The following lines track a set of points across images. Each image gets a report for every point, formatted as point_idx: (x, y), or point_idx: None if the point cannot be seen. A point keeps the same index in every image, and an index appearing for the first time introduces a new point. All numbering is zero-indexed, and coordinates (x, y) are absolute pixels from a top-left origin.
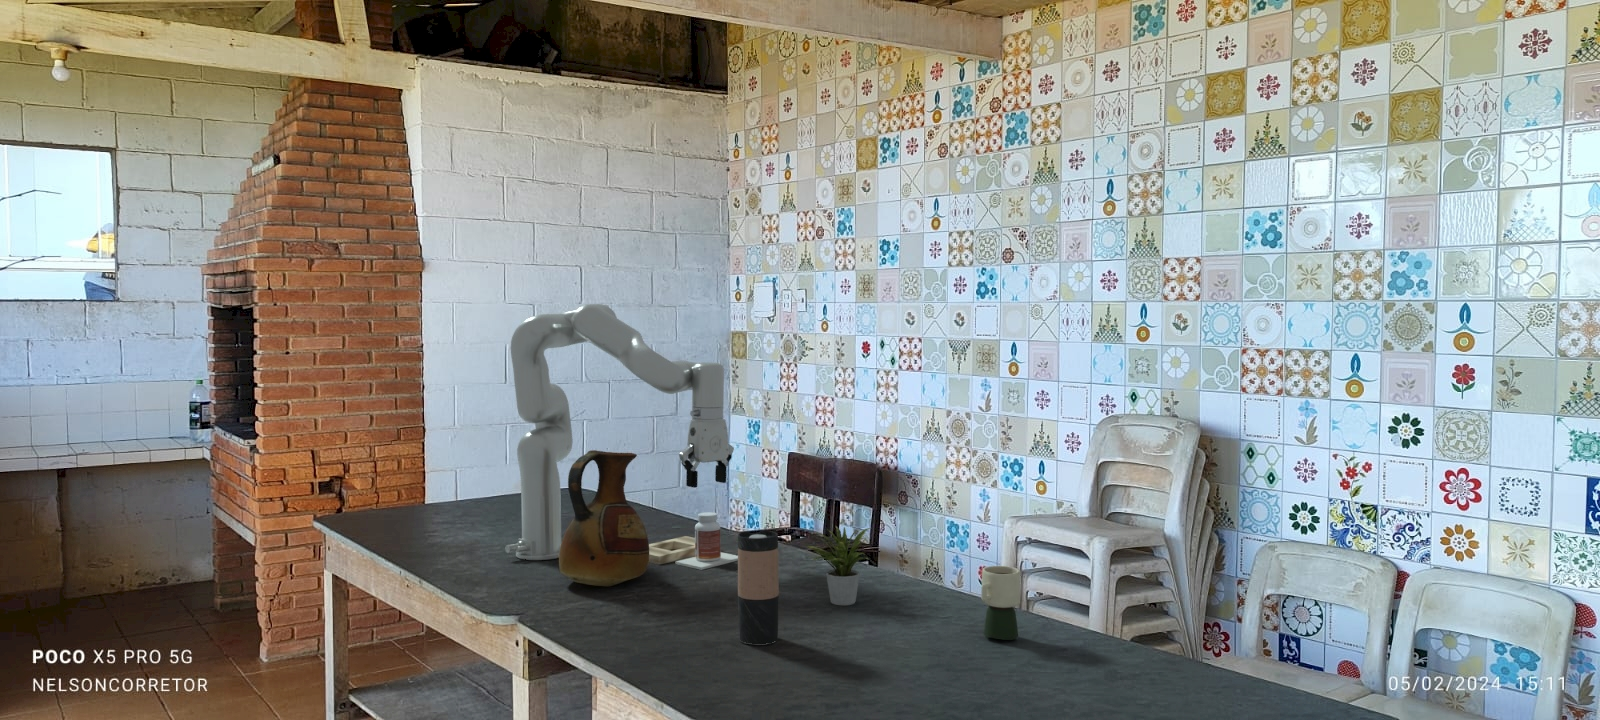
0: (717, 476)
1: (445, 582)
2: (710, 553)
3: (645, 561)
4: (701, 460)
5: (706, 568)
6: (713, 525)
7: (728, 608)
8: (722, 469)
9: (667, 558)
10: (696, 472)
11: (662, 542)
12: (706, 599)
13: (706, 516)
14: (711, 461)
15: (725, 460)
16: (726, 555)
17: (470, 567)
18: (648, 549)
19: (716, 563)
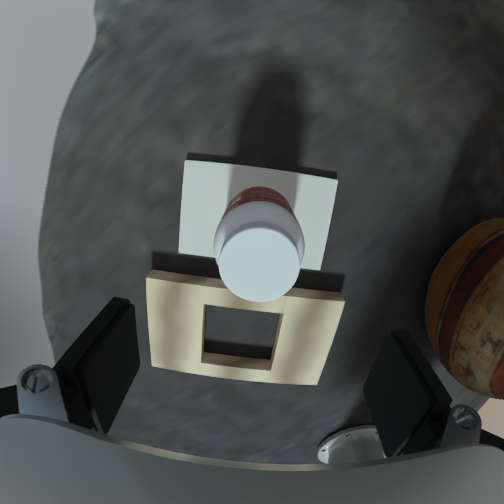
0: (126, 372)
1: (480, 404)
2: (283, 197)
3: (497, 222)
4: (497, 449)
5: (319, 176)
6: (274, 213)
7: (487, 17)
8: (96, 372)
9: (318, 294)
10: (443, 393)
11: (227, 371)
12: (482, 60)
13: (295, 245)
14: (337, 465)
15: (34, 411)
16: (197, 204)
17: None
18: (496, 237)
19: (285, 171)
